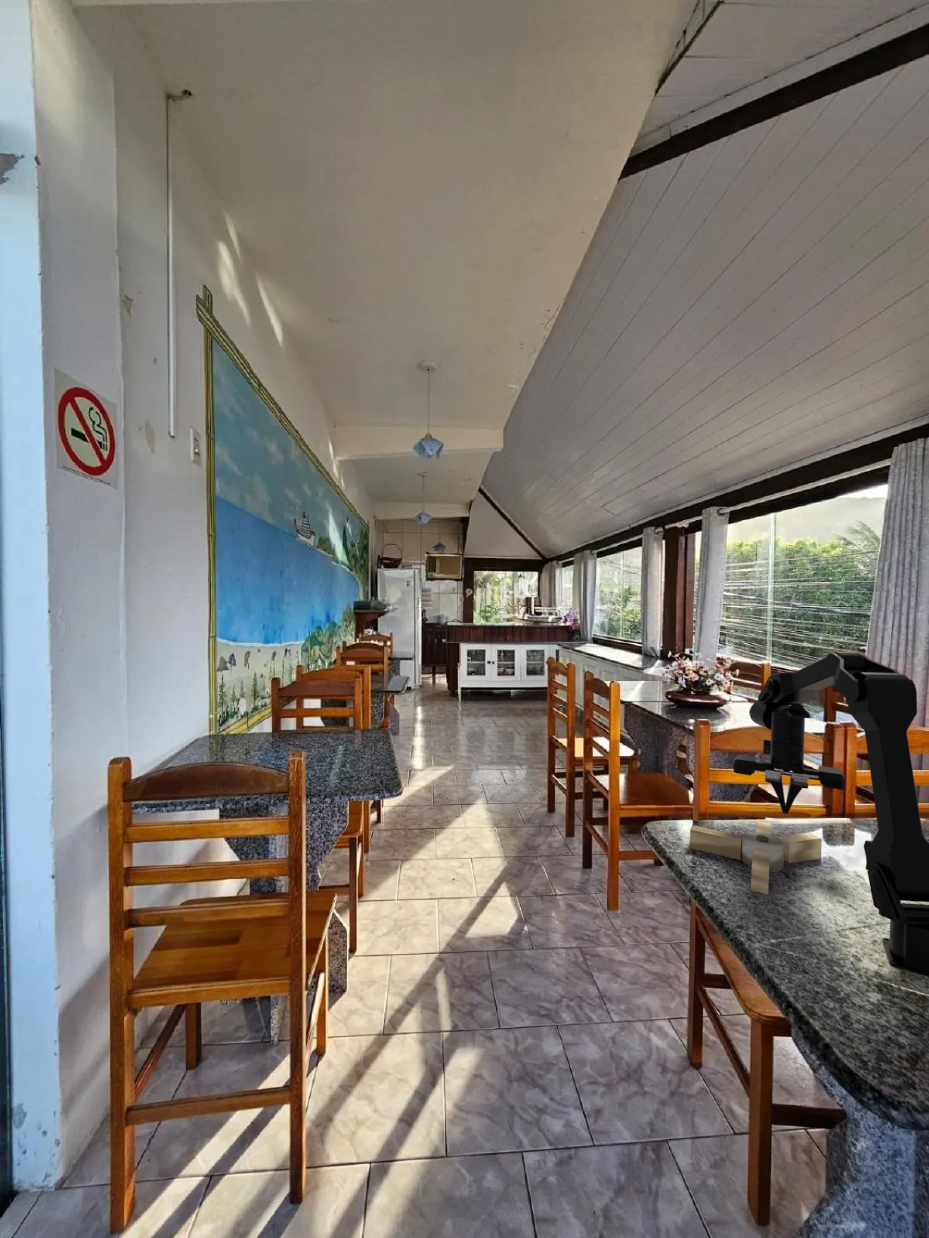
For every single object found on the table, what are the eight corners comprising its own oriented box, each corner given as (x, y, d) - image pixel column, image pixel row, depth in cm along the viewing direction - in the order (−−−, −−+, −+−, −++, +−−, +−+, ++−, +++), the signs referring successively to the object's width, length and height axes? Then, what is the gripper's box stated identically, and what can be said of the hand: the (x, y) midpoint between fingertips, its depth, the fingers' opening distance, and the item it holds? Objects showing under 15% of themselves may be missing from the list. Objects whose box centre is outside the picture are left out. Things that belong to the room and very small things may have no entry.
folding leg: (789, 862, 98) (789, 841, 98) (778, 856, 101) (778, 836, 101) (821, 858, 100) (821, 838, 100) (809, 852, 103) (810, 832, 103)
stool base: (783, 900, 86) (784, 870, 86) (680, 872, 94) (681, 845, 94) (783, 843, 107) (783, 819, 107) (699, 825, 116) (699, 803, 116)
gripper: (840, 735, 107) (838, 810, 107) (738, 723, 116) (736, 792, 117) (846, 746, 97) (843, 829, 97) (734, 732, 107) (732, 808, 107)
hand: (785, 813), depth 105 cm, fingers closed
